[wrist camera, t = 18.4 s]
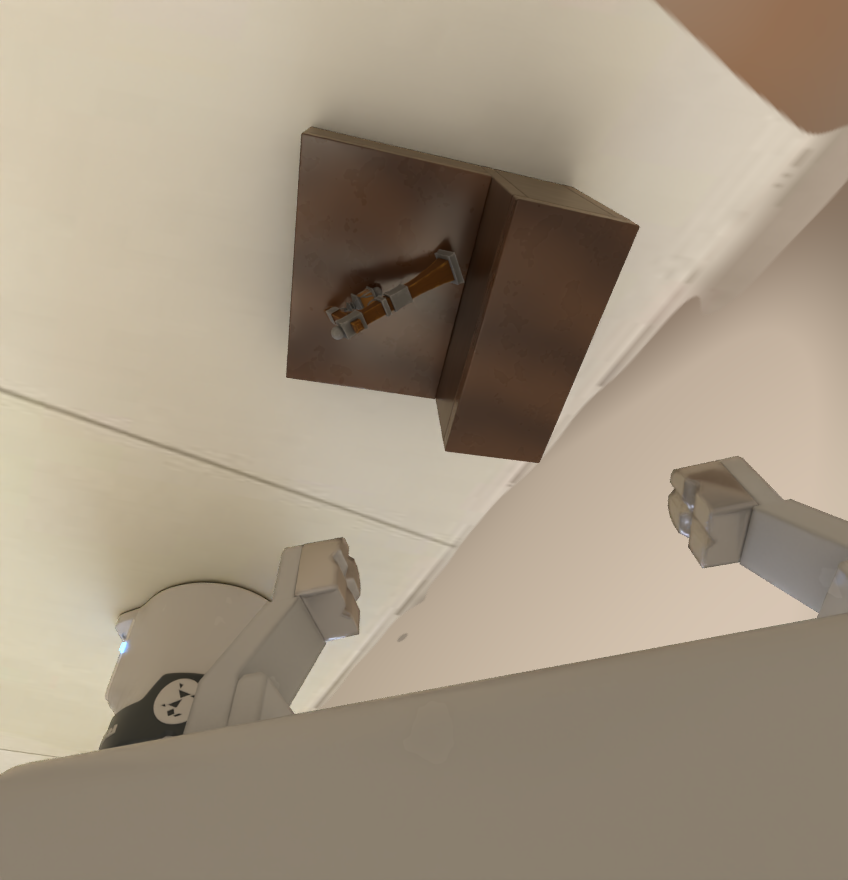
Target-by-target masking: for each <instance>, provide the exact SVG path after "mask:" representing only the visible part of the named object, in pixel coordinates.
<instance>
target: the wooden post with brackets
mask: <svg viewBox="0 0 848 880" xmlns="http://www.w3.org/2000/svg"><path fill="white" fill-rule="evenodd" d="M435 256H436V260H435V261H434V262H433V263H432V264H431V265H430V266H429V267H428V268H426V269H425V270H424V271H422V272H421V273H420V274H418V275H417V276H416V277H415V278H413V279H412V280H410V281H409V282H407V283H405V284H404V285H403V284H399V285H398V286H396V287H395V288H393V289H391V290H389V291H388V292H384V293H383V295H384V296H383V297H381V296H382V290H381V289H380V288H379V287H375V288H373V289H372V288H370V287H368V286H367V287H366V288H365V290H363V291H362V292H360V293H359V294H357V295H354V294H351V297H352V302H350V304H349V303H347V302H346V308H338V307H332V306H330V307H329V308H327V309H325V310H324V312H325V314H326V316H327V318H328V319H329V320H330V321H331V322H332V323H333V324H335V325H337V326H336V327H334V328H333V329H332V330H331V335H332V337H333V338H334V339H336V340H339V339H342V338H343V337H344V338H346V339H348V340H349V339H350V338H351V337H352V336H354V335H356V334H358V333H359V332H361V331H363V330H365V329H368V326H367V325H368V324H370V323H372V322H374V321H375V320H377V319H379V318H381V317H383V316H384V315H386V316H388V317H389V316H390V315H393V314H392V312H391V311H395V312H397V311H398V310H399V309H401V308H402V307H404V306H406V305H407V304H409V303H412V302H413V300H412V299H413V298H415V297H417V296H419V295H420V294H422V293H424V292H427V291H429V290H431V289H433V288H436V287H438V286H440V285H442V284H445V283H448V282H450V283H453V284H457V285H459V284H461V283H465V282H464V279H463V276H462V273H461V270H460V267H459V264H458V261H457V258H456V255H455V252H450V251H446V250H441V249H439V251H438V252H436V253H435ZM342 309H344V311H345V312H342V311H341V310H342ZM346 309H347V310H346ZM353 309H354V311H353ZM356 309H358V310H356ZM347 311H350V312H347Z"/></svg>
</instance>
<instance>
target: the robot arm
mask: <svg viewBox="0 0 848 880" xmlns="http://www.w3.org/2000/svg"><path fill="white" fill-rule="evenodd" d="M670 483H671V484H672V486H673V487H674V490H673V491H672V492H671V494H670V495H669V496H668V509H669V514H670V518H671V520H672V522H673V524H674V526H675V528H676V529H677V531H678V532H679V533H680V534H682V535H684V536H686V537H688V538H689V544H688V547H689V549H690V550H691V552H692V553H693V555H694V556H695V558H696V559H697V561H698V562H699V564H700V565H701V567H702V568H707V567H714V566H719V565H726V564H732V563H738V562H740V564H741V565H742V566H744V567H745V568H747V569H749V570H750V571H752V572H754V573H755V574H757V575H758V576H760V577H761V578H763V579H765V580H766V581H768V582H770V583H771V584H773V585H774V586H776V587H777V588H779V589H781V590H782V591H784V592H786V593H787V594H789V595H790V596H792V597H794V598H795V599H797V600H798V601H800V602H802V603H803V604H805V605H806V606H808V607H810V608H811V609H813V610H814V611H816V612H818V613H819V614H818V616H817V618H815V619H810V620H804V621H798V622H793V623H787V624H782V625H777V626H771V627H766V628H760V629H755V630H749V631H745V632H738V633H733V634H728V635H723V636H717V637H711V638H707V639H701V640H695V641H690V642H685V643H679V644H674V645H668V646H663V647H658V648H652V649H647V650H642V651H636V652H630V653H625V654H620V655H615V656H609V657H604V658H598V659H593V660H587V661H582V662H576V663H571V664H565V665H560V666H555V667H549V668H544V669H538V670H533V671H527V672H522V673H516V674H511V675H505V676H500V677H495V678H489V679H484V680H478V681H473V682H467V683H462V684H456V685H451V686H445V687H440V688H435V689H429V690H423V691H418V692H413V693H407V694H402V695H396V696H391V697H385V698H380V699H375V700H369V701H364V702H358V703H353V704H347V705H342V706H336V707H331V708H326V709H321V710H315V711H309V712H304V713H298V714H294V713H293V711H292V710H291V708H290V707H289V706H290V705H291V703H292V701H293V699H294V698H295V696H296V694H297V693H298V691H299V689H300V687H301V686H302V684H303V682H304V680H305V679H306V677H307V675H308V674H309V672H310V670H311V668H312V667H313V665H314V663H315V662H316V660H317V658H318V656H319V655H320V653H321V651H322V650H323V648H324V646H325V644H326V641H330V640H335V639H339V638H344V637H348V636H353V635H357V634H359V619H360V610H359V608H358V606H357V603H356V601H357V599H358V598H359V597H360V578H359V572H358V568H357V565H356V562H355V560H354V559H353V558H352V557H350V556H349V546H348V544H347V542H346V540H345V538H343V537H341V538H335V539H330V540H324V541H318V542H313V543H307V544H304V545H298V546H293V547H287V548H285V549H284V550H283V552H282V554H281V559H280V564H279V569H278V574H277V579H276V584H275V589H274V594H273V599H272V602H269V601H268V600H266V599H265V598H263V597H261V596H260V595H258V594H256V593H253V592H251V591H249V590H246V589H243V588H240V587H236V586H232V585H226V584H220V583H190V584H183V585H179V586H175V587H171V588H169V589H166V590H164V591H162V592H160V593H158V594H157V595H155V596H154V597H152V598H151V599H150V600H149V601H148V602H147V603H146V604H145V605H144V606H142V607H141V608H138V609H135V610H132V611H129V612H127V613H124V614H122V615H120V616H119V618H118V620H117V623H116V630H117V632H118V634H119V636H120V637H121V639H122V641H123V643H122V645H121V647H120V649H119V650H120V655H119V657H118V660H117V663H116V665H115V668H114V671H113V674H112V676H111V679H110V682H109V684H108V687H107V690H106V694H105V699H106V700H107V701H108V704H109V707H110V708H111V709H112V710H113V712H114V714H115V716H114V717H113V718H112V720H111V723H110V725H109V728H108V730H107V732H106V734H105V735H104V736H103V739H102V741H101V744H100V747H99V750H98V751H92V752H87V753H81V754H76V755H70V756H65V757H59V758H53V759H47V760H40V761H34V762H30V763H26V764H21V765H18V766H15V767H13V768H10V769H8V770H6V771H5V772H3V773H2V774H0V880H848V521H846V520H843V519H840V518H838V517H835V516H833V515H830V514H828V513H825V512H822V511H820V510H817V509H815V508H812V507H810V506H807V505H804V504H802V503H799V502H796V501H794V500H792V499H789V500H783V499H782V498H781V497H780V496H779V495H778V494H777V492H776V491H775V490H774V489H773V488H772V487H771V486H770V485H769V484H768V483H767V482H766V481H765V480H764V479H763V478H762V477H761V476H760V475H759V474H758V473H757V472H756V471H755V470H754V469H753V468H752V467H751V466H750V465H749V464H748V463H747V462H746V461H745V460H744V459H743V458H741V457H739V456H735V457H730V458H725V459H721V460H716V461H712V462H707V463H703V464H698V465H693V466H688V467H684V468H679V469H674V470H673V472H672V473H671V477H670Z"/></svg>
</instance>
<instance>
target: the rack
mask: <svg viewBox="0 0 848 880" xmlns="http://www.w3.org/2000/svg"><path fill="white" fill-rule="evenodd" d="M638 230H639V225H637V224H635V223H634V222H632V221H631V220H629V219H627V218H625V217H624V216H622V215H620V214H619V213H617V212H615V211H613V210H612V209H610V208H608V207H606V206H605V205H603V204H601V203H599V202H598V201H596V200H594V199H592V198H591V197H589V196H587V195H585V194H584V193H582V192H580V191H579V190H577V189H575V188H573V187H570V186H566V185H561V184H557V183H553V182H548V181H544V180H540V179H535V178H531V177H527V176H522V175H518V174H514V173H509V172H505V171H501V170H497V169H492V168H488V167H484V166H481V167H480V166H479V165H475V164H471V163H466V162H462V161H458V160H453V159H449V158H445V157H440V156H436V155H432V154H427V153H423V152H419V151H414V150H410V149H406V148H401V147H397V146H393V145H389V144H384V143H380V142H376V141H371V140H367V139H363V138H358V137H354V136H350V135H345V134H341V133H337V132H332V131H328V130H324V129H319V128H315V127H310V128H308V129H307V130H306V131H304V132H303V133H302V134H301V149H300V165H299V181H298V197H297V212H296V228H295V244H294V260H293V276H292V292H291V308H290V324H289V340H288V356H287V372H286V377H287V378H293V379H300V380H307V381H314V382H321V383H328V384H334V385H341V386H348V387H355V388H362V389H369V390H376V391H383V392H390V393H397V394H404V395H411V396H418V397H425V398H432V399H435V398H436V404H437V409H438V415H439V420H440V426H441V431H442V437H443V442H444V448H445V451H447V452H455V453H463V454H471V455H479V456H487V457H495V458H503V459H511V460H519V461H527V462H535V463H539V462H540V460H541V458H542V456H543V453H544V451H545V448H546V446H547V444H548V441H549V439H550V437H551V434H552V432H553V430H554V427H555V425H556V423H557V420H558V418H559V416H560V413H561V411H562V408H563V406H564V404H565V401H566V399H567V397H568V394H569V392H570V390H571V387H572V385H573V383H574V380H575V378H576V376H577V373H578V371H579V369H580V366H581V364H582V361H583V359H584V357H585V354H586V352H587V350H588V347H589V345H590V343H591V340H592V338H593V336H594V333H595V331H596V329H597V326H598V324H599V321H600V319H601V317H602V314H603V312H604V310H605V307H606V305H607V303H608V300H609V298H610V296H611V293H612V291H613V289H614V286H615V284H616V281H617V279H618V277H619V274H620V272H621V270H622V267H623V265H624V263H625V260H626V258H627V256H628V253H629V251H630V249H631V246H632V244H633V241H634V239H635V237H636V234H637V232H638ZM439 249H441V250H446V251H450V252H455V255H456V258H457V261H458V264H459V267H460V270H461V273H462V276H463V279H464V282H465V283H461V284H459V285H457V284H453V283H450V282H448V283H445V284H442V285H440V286H438V287H436V288H433V289H431V290H429V291H427V292H424V293H422V294H420V295H419V296H417V297H415V298H413V299H412V300H413V302H412V303H409V304H407V305H406V306H404V307H402V308H401V309H399V310H398V311H397V312H395V311H391V312H392V314H393V315H390V316H389V317H388V316H386V315H384V316H383V317H381V318H379V319H377V320H375V321H374V322H372V323H370V324H368V325H367V326H368V329H365V330H363V331H361V332H359V333H358V334H356V335H354V336H352V337H351V338H350V339H349V340H348V339H346V338H344V337H343V338H342V339H339V340H336V339H334V338H333V337H332V335H331V330H332V329H333V328H334V327H336V326H337V325H335V324H333V323H332V322H331V321H330V320H329V319H328V318H327V316H326V314H325V312H324V310H325V309H327V308H329V307H330V306H332V307H338V308H346V302H347V303H349V304H350V302H352V297H351V294H354V295H357V294H359V293H360V292H362V291H363V290H365V288H366V287H367V286H368V287H370V288H372V289H373V288H375V287H379V288H380V289H381V290H382V296H381V297H383V296H384V295H383V293H384V292H388V291H389V290H391V289H393V288H395V287H396V286H398V285H399V284H403V285H404V284H405V283H407V282H409V281H410V280H412V279H413V278H415V277H416V276H417V275H418V274H420V273H421V272H422V271H424V270H425V269H426V268H428V267H429V266H430V265H431V264H432V263H433V262H434V261H435V260H436V256H435V253H436V252H438V251H439ZM346 310H347V309H346ZM356 310H358V309H356ZM341 311H342V312H345V311H344V309H342V310H341ZM353 311H354V309H353ZM347 312H350V311H347Z"/></svg>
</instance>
